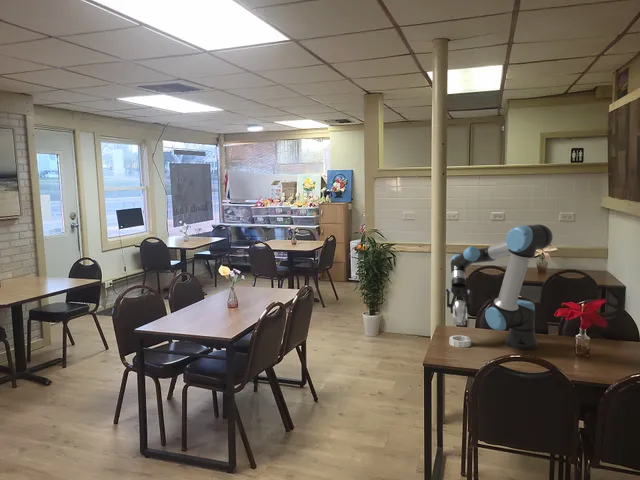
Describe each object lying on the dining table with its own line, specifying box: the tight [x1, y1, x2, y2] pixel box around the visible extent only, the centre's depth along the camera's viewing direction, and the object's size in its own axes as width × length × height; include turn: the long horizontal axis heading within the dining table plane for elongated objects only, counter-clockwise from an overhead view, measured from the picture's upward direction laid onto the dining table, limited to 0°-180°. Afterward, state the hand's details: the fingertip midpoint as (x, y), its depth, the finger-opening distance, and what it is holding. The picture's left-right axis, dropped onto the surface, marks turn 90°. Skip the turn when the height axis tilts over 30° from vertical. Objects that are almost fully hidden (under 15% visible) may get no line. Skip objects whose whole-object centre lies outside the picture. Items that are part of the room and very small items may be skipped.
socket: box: [449, 334, 472, 348], centre depth 250 cm, size 10×10×3 cm
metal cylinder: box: [453, 299, 466, 327], centre depth 249 cm, size 6×6×12 cm
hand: (460, 318), depth 245 cm, fingers closed on metal cylinder, 5 cm apart
